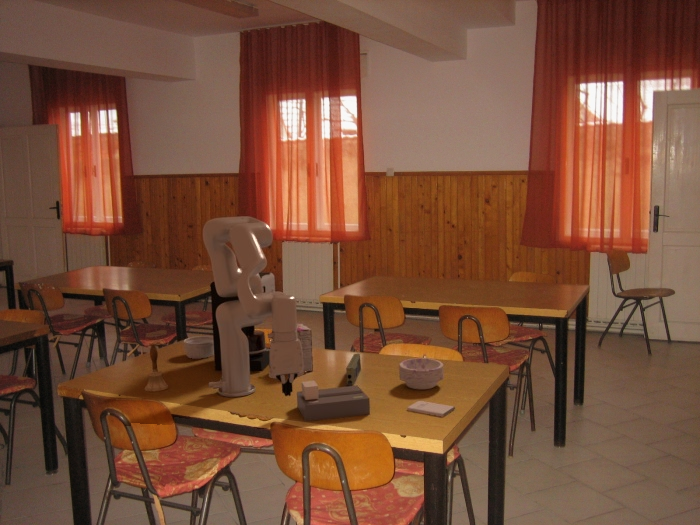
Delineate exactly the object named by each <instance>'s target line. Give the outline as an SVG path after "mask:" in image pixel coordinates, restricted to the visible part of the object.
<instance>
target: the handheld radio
mask: <svg viewBox="0 0 700 525" xmlns="http://www.w3.org/2000/svg"><path fill="white" fill-rule="evenodd" d="M361 364H362V362H361V353H354V354H353V356H352V357H351V359H350V360H349V363H348V364H347V366H346V368H345V371H346V385H345V387H348V386H355V384H356V382H357V379H358V377H359V375H360V373H361V371H362V365H361Z"/></svg>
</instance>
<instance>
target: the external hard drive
mask: <svg viewBox="0 0 700 525" xmlns="http://www.w3.org/2000/svg"><path fill="white" fill-rule="evenodd" d="M454 409H455V410H456V406H453V405H447V404H441V403H436V402H435V403H434V402H431V401H430V402H428V401H425V400H424V401H423V400H417V401H416V402H414V403H412V404H410V405H409V406H407V407H406V411H409V412H413V413H414V412H415V413H419V414H426V415H429V414H430V415H431V416H434V415H436V416H435V417H440V416H441V417H440V418H444V417H446V416H447V415H448V413H449V414H450V413H452V412H453V411H455V410H454ZM451 411H452V412H451ZM430 415H429V416H430ZM445 415H446V416H445Z"/></svg>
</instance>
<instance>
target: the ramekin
mask: <svg viewBox="0 0 700 525" xmlns="http://www.w3.org/2000/svg"><path fill="white" fill-rule="evenodd" d="M183 345H184V350H185V355H186V357H187V358H189V359H191V358H192V359H193V360H199V359H200V360H201V358H203V359H208V358H211V357H214V341H213V336H208V335H204V336H203V335H201V336H200V335H199V336H192V337H188V338H185V339H184V340H183ZM210 356H211V357H210ZM207 357H208V358H207Z"/></svg>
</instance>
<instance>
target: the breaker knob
mask: <svg viewBox="0 0 700 525" xmlns="http://www.w3.org/2000/svg"><path fill="white" fill-rule="evenodd" d="M318 390H319V385H318V383H317V382H316V381H315V380H307V381H301V391H302V395H303V397H304V398H305V400H311V399H319V397H318Z"/></svg>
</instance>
